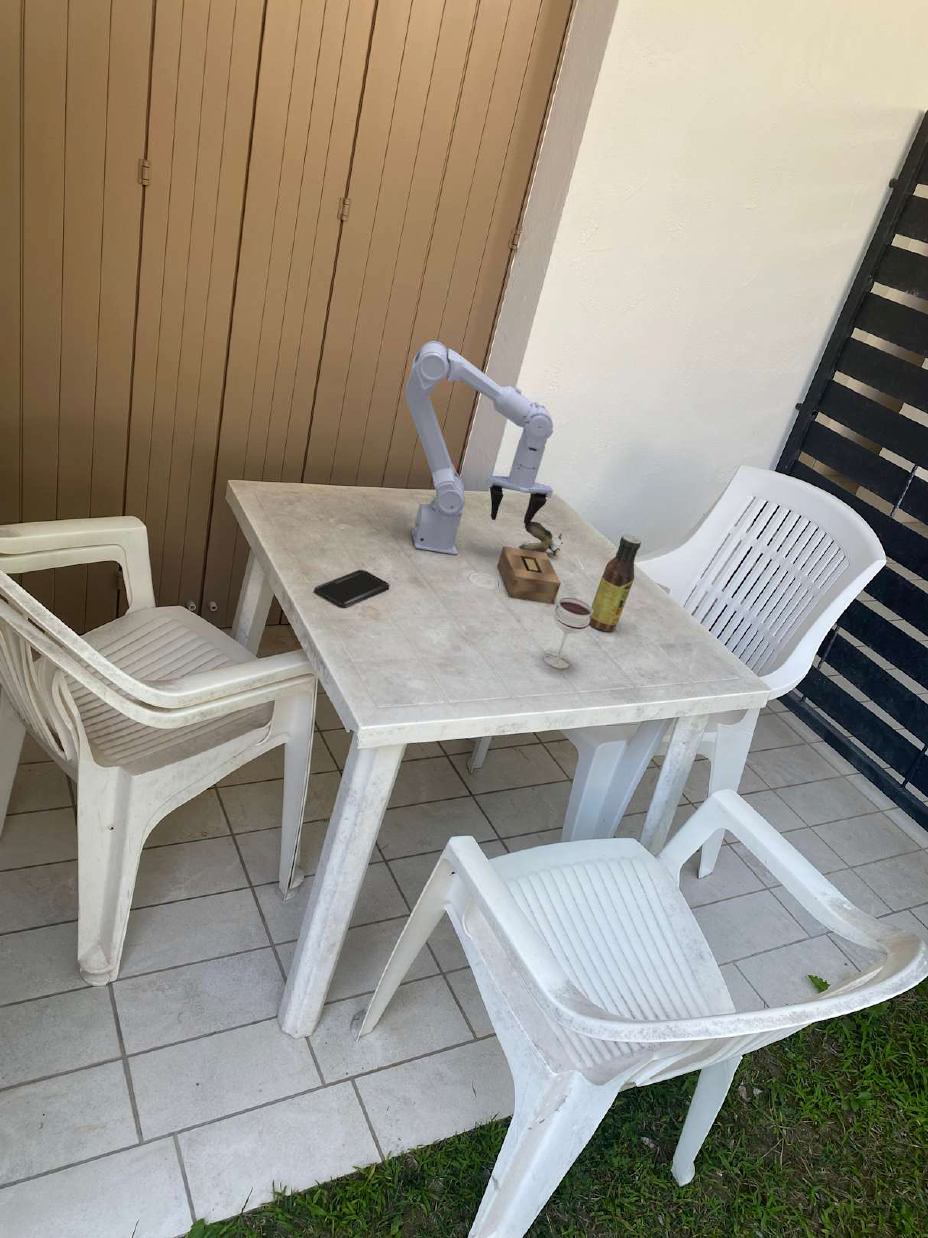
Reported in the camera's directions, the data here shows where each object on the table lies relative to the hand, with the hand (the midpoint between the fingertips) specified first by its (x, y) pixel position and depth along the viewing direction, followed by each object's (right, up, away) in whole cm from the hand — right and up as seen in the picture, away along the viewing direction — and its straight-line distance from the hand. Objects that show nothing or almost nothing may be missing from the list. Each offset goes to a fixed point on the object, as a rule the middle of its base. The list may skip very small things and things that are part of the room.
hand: (509, 520), depth 205 cm
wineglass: (+7, -30, -29) cm, 42 cm away
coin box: (+3, -14, -4) cm, 15 cm away
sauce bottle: (+18, -23, -11) cm, 31 cm away
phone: (-32, -16, -25) cm, 43 cm away
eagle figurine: (+7, -6, +14) cm, 17 cm away
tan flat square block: (+3, -14, -4) cm, 15 cm away
